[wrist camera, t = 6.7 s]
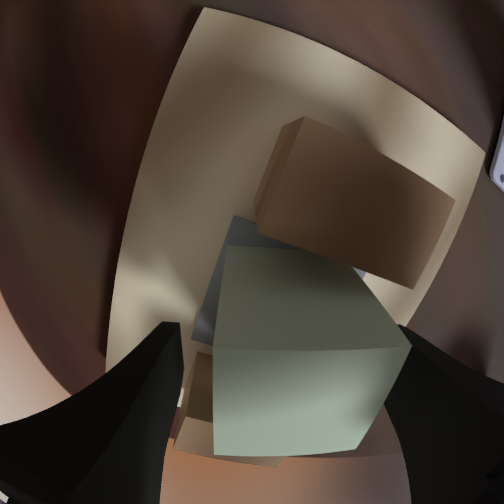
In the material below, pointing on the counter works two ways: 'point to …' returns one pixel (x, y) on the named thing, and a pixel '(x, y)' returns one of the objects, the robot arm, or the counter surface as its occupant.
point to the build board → (233, 153)
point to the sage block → (298, 354)
